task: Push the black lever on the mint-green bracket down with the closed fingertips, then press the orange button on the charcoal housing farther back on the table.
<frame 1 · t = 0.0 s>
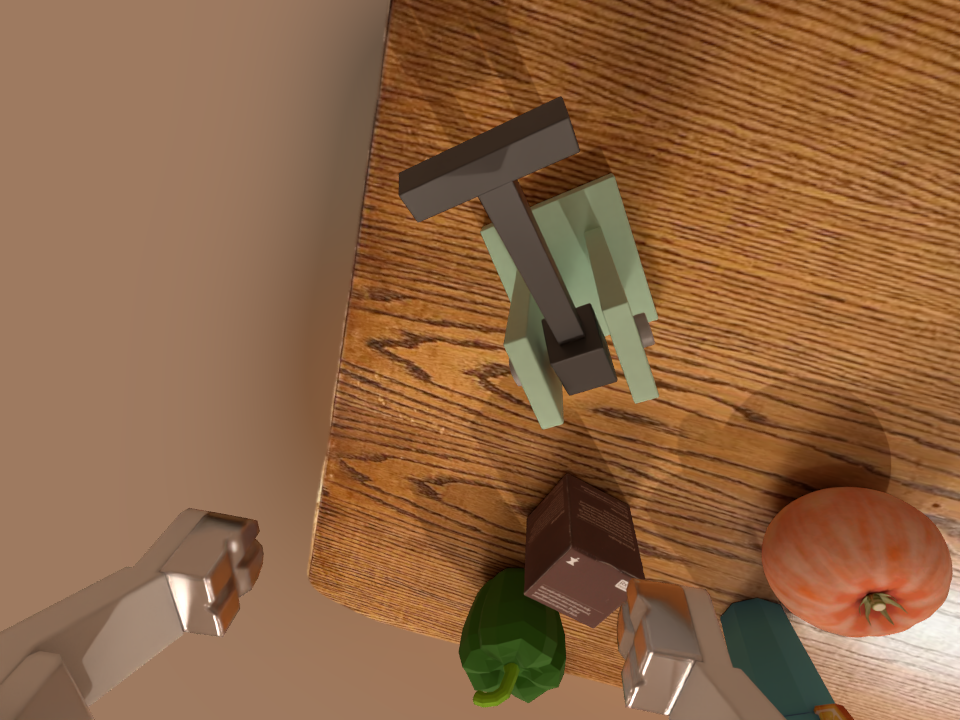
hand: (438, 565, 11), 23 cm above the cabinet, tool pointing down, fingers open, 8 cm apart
cup: (751, 623, 44), on the cabinet
box: (577, 509, 41), on the cabinet
tomato: (821, 516, 38), on the cabinet
toaster bracket: (570, 270, 31), on the cabinet
lever: (546, 283, 18), point 13 cm above the cabinet, hinge at 28.0°
bell pepper: (516, 584, 46), on the cabinet
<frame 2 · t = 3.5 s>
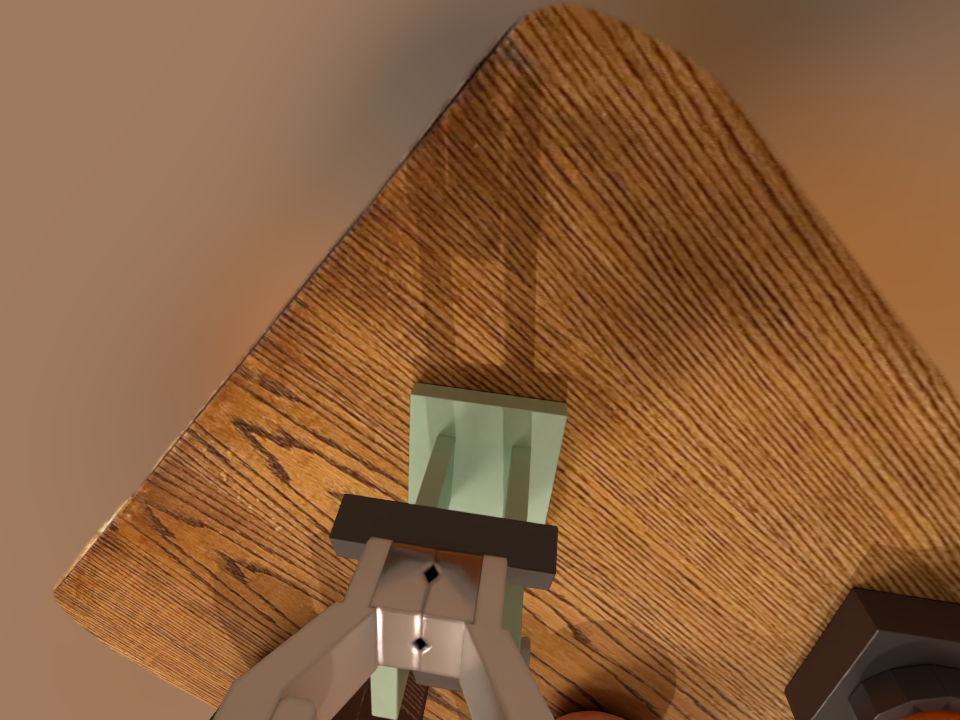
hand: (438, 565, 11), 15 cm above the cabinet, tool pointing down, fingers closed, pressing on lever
button housing: (888, 655, 32), on the cabinet
box: (383, 641, 39), on the cabinet
toaster bracket: (483, 459, 29), on the cabinet
lever: (447, 610, 16), point 13 cm above the cabinet, hinge at 19.8°, touching gripper
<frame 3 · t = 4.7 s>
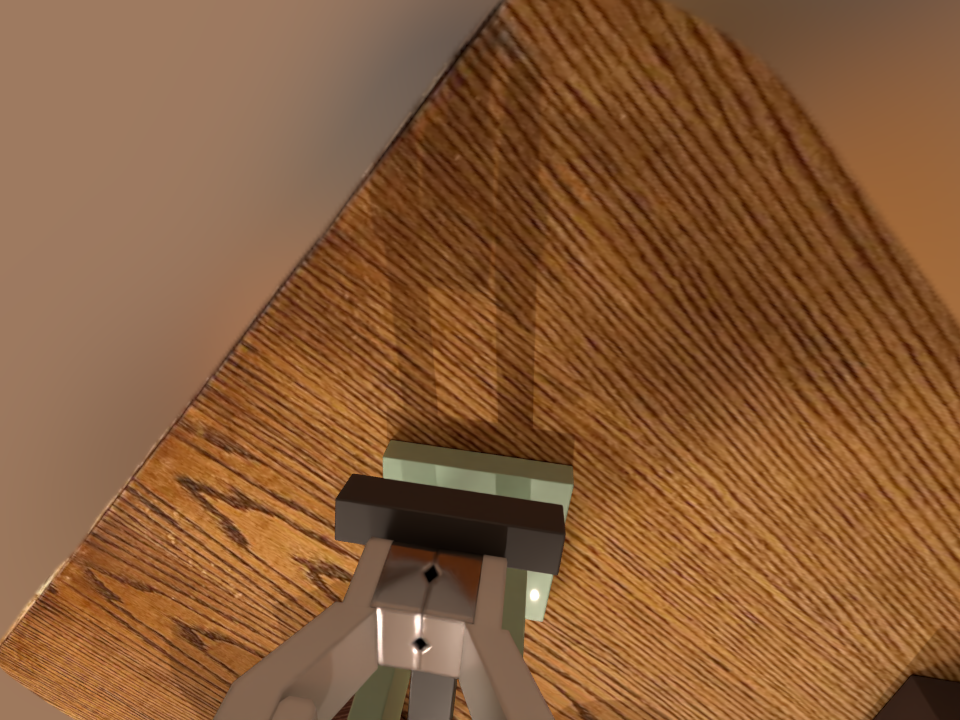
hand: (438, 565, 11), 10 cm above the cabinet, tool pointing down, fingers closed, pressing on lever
box: (363, 713, 34), on the cabinet
toaster bracket: (472, 526, 24), on the cabinet
lever: (432, 698, 13), point 10 cm above the cabinet, hinge at -10.8°, touching gripper
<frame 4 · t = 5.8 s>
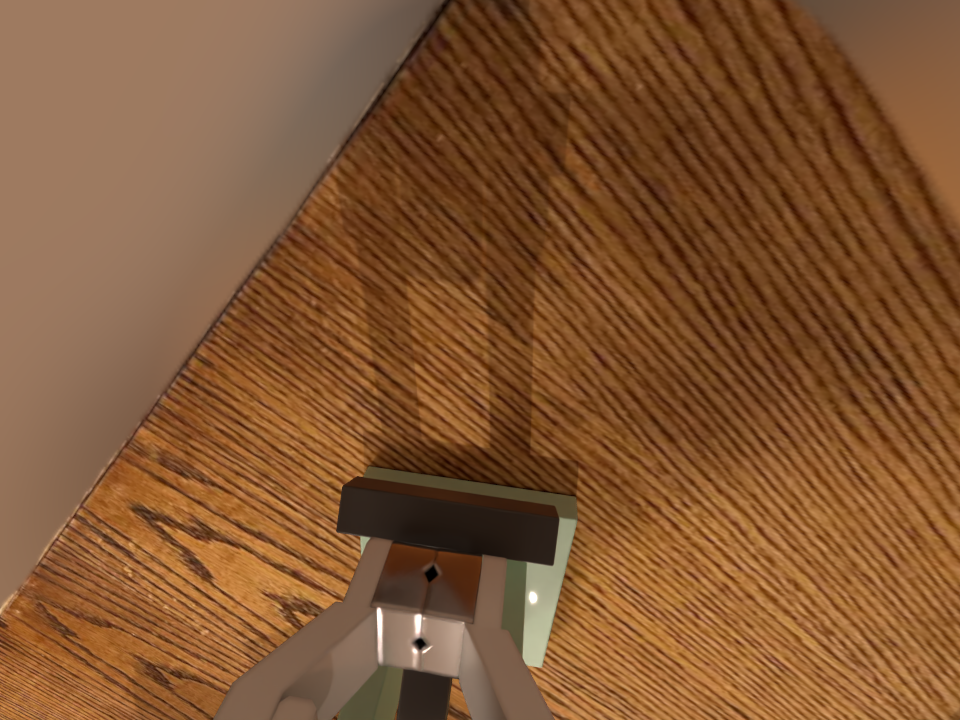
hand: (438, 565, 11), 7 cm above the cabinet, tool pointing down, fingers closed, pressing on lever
toaster bracket: (462, 561, 21), on the cabinet
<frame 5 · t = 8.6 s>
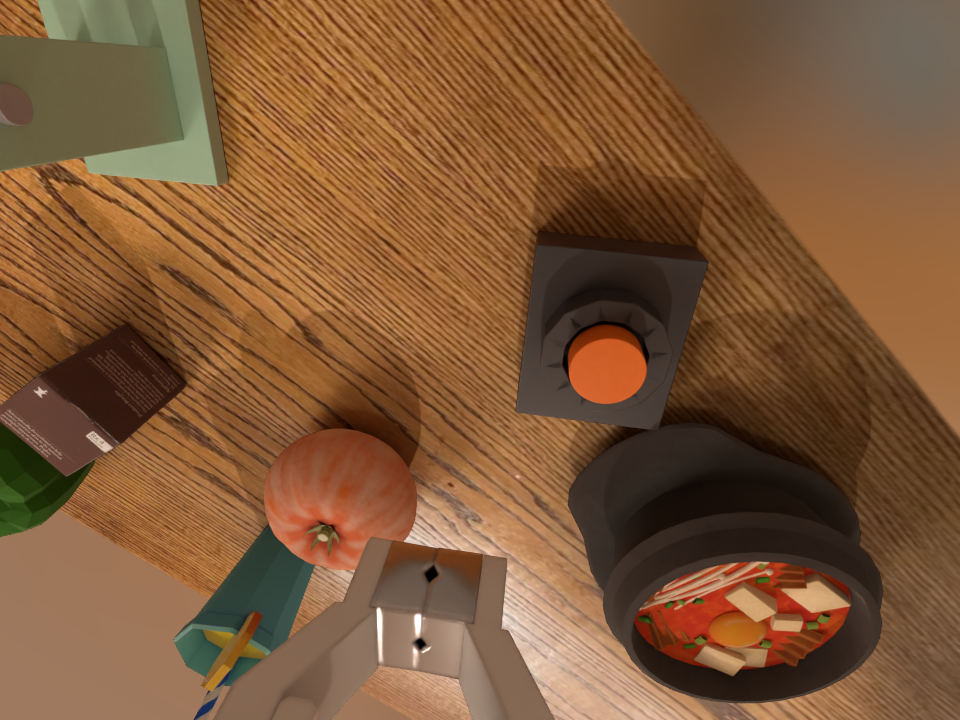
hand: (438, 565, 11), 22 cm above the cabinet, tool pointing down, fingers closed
casserole: (708, 531, 39), on the cabinet
button housing: (598, 325, 32), on the cabinet
cup: (291, 545, 46), on the cabinet
box: (137, 369, 38), on the cabinet
button: (606, 364, 27), point 5 cm above the cabinet, slide at 0.1 cm
tomato: (360, 461, 40), on the cabinet
toaster bracket: (147, 91, 28), on the cabinet
bell pepper: (69, 430, 42), on the cabinet
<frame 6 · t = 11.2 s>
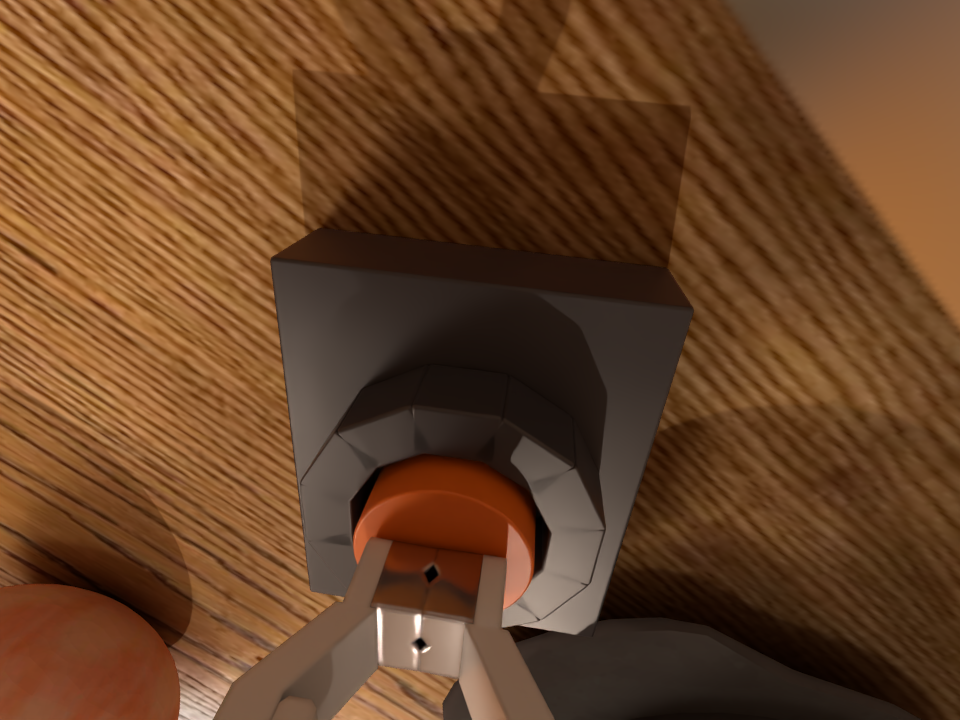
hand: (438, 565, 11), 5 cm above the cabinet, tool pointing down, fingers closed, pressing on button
button housing: (473, 422, 16), on the cabinet
button: (448, 530, 12), point 4 cm above the cabinet, slide at -0.5 cm, touching gripper
tomato: (109, 618, 24), on the cabinet
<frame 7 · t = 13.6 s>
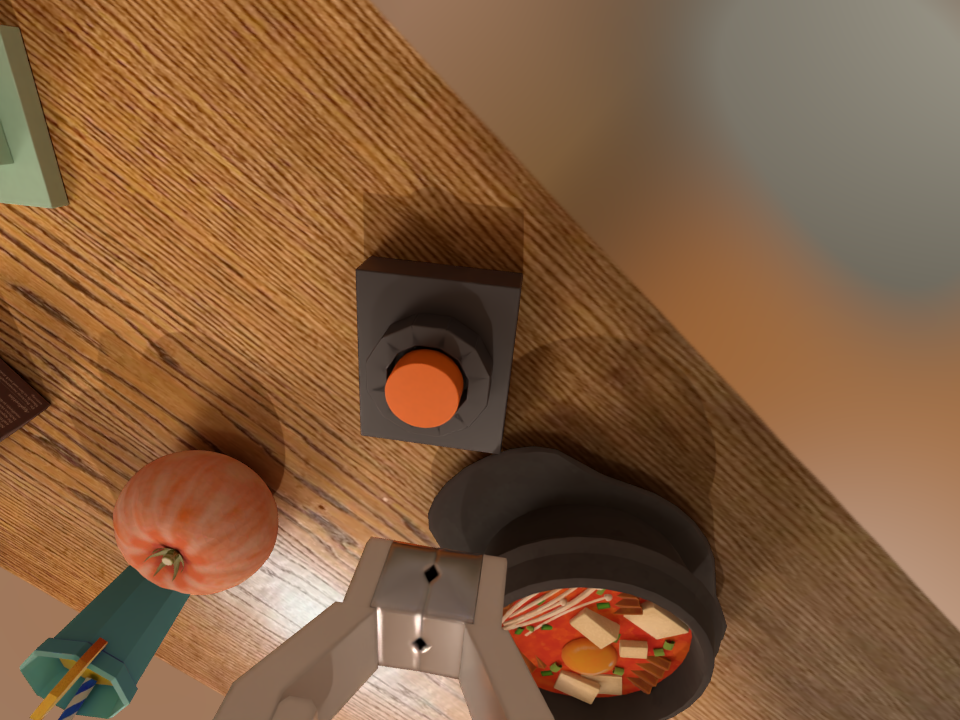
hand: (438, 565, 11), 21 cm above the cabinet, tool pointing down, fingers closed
casserole: (578, 555, 39), on the cabinet
button housing: (441, 349, 32), on the cabinet
cup: (173, 568, 45), on the cabinet
box: (2, 389, 38), on the cabinet
button: (424, 388, 28), point 5 cm above the cabinet, slide at 0.1 cm
tomato: (231, 483, 40), on the cabinet
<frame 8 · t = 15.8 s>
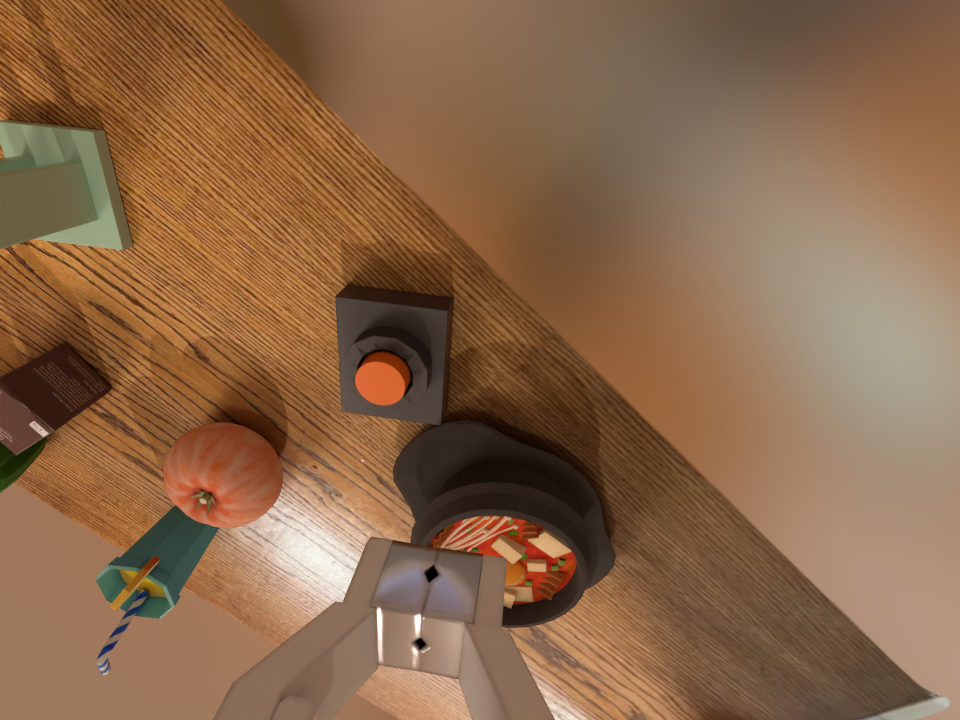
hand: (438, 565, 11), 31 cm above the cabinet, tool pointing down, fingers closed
casserole: (507, 503, 52), on the cabinet
button housing: (399, 350, 45), on the cabinet
cup: (201, 515, 58), on the cabinet
box: (75, 376, 51), on the cabinet
button: (383, 378, 40), point 5 cm above the cabinet, slide at 0.1 cm
tomato: (247, 448, 53), on the cabinet
toaster bracket: (73, 186, 41), on the cabinet
bell pepper: (25, 422, 55), on the cabinet
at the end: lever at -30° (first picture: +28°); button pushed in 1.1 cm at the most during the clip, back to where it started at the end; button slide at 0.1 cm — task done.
